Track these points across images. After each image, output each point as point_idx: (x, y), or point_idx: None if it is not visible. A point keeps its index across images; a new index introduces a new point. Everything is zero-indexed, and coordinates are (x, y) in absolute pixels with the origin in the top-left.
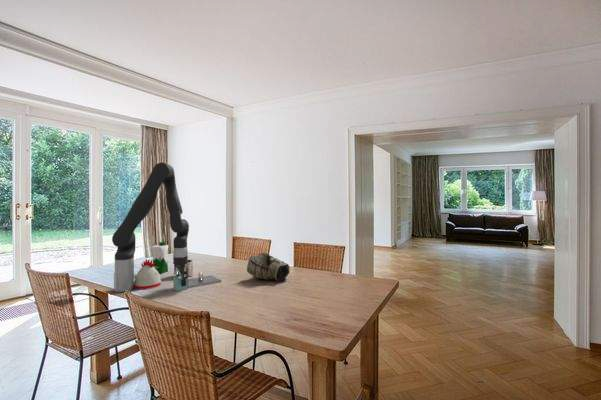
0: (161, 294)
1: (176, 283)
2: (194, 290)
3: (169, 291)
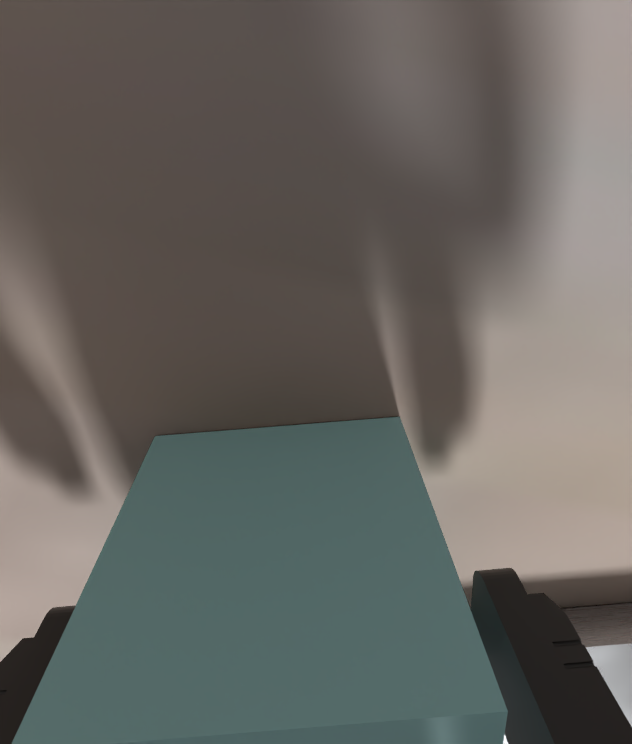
0: (15, 7)
1: (124, 574)
2: None
3: (225, 291)
